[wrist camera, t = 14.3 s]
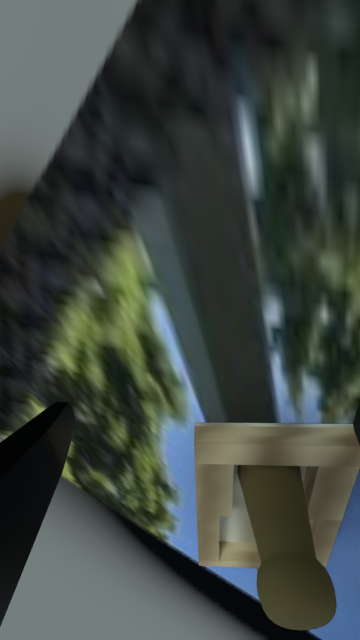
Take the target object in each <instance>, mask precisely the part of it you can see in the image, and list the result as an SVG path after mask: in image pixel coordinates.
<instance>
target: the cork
mask: <svg viewBox="0 0 360 640" xmlns="http://www.w3.org/2000/svg"><path fill="white" fill-rule="evenodd" d="M237 474H238V477H239V481H240V485H241V489H242V492H243V496H244V500H245V504H246V507H247V511H248V515H249V519H250V522H251V526H252V530H253V534H254V537H255V541H256V545H257V549H258V552H259V556H260V560H261V564H260V567H259V569H258V573H257V591H258V596H259V599H260V602H261V605H262V607H263V610H264V611H265V613H266V615H267V616H268V618H269V619H271V620H272V621H273V622H274V623H276V624H277V625H279V626H282V627H284V628H289V629H295V630H310V629H316V628H319V627H322V626H325V625H326V624H327V623H329V622H330V621H331V620H332V619H333V617H334V615H335V611H336V596H335V590H334V586H333V583H332V580H331V578H330V576H329V574H328V572H327V570H326V568H325V567H324V566H323V565H322V564H321V563H320V562H319V561H318V560H317V559H316V553H315V548H314V542H313V537H312V531H311V526H310V520H309V515H308V509H307V504H306V498H305V493H304V487H303V482H302V476H301V471H300V466H276V465H238V469H237Z"/></svg>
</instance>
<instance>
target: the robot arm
mask: <svg viewBox="0 0 360 640" xmlns="http://www.w3.org/2000/svg"><path fill="white" fill-rule="evenodd" d="M75 425H76V420H75V416H74V412H73V409H72V405H71V403H70V402H69V401H57V402H55V403H54V404H52V405H51V406H49V407H48V408H47V409H45V410H44V411H43V412H41V413H40V414H39V415H37V416H36V417H34V418H33V419H32V420H30V421H29V422H28V423H26V424H25V425H24V426H22V427H21V428H19V429H18V430H17V431H15V432H14V433H13V434H11V435H10V436H9V437H7V438H6V439H4V440H3V441H2V442H0V626H1V624H2V621H3V619H4V616H5V614H6V611H7V609H8V606H9V604H10V601H11V599H12V596H13V594H14V591H15V589H16V586H17V584H18V581H19V579H20V576H21V574H22V571H23V569H24V566H25V564H26V561H27V559H28V557H29V554H30V552H31V549H32V547H33V544H34V542H35V539H36V537H37V534H38V532H39V529H40V527H41V524H42V521H43V519H44V517H45V514H46V512H47V509H48V507H49V504H50V502H51V499H52V497H53V494H54V492H55V489H56V487H57V484H58V482H59V479H60V477H61V474H62V471H63V468H64V465H65V461H66V458H67V454H68V451H69V447H70V444H71V440H72V437H73V433H74V430H75ZM353 428H354V432H355V434H356V437H357V440H358V443H359V446H360V404H359V406H358V409H357V412H356V415H355V419H354V423H353Z"/></svg>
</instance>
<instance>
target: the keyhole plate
mask: <svg viewBox="0 0 360 640" xmlns="http://www.w3.org/2000/svg"><path fill="white" fill-rule="evenodd" d="M194 447H195V473H196V500H197V526H198V552H199V566H219V567H241V568H259V567H260V564H261V560H260V556H259V552H258V549H257V545H256V541H255V537H254V534H253V530H252V526H251V522H250V519H249V515H248V511H247V507H246V504H245V500H244V496H243V492H242V489H241V485H240V481H239V477H238V474H237V469H238V465H276V466H300V471H301V476H302V482H303V487H304V493H305V498H306V504H307V509H308V515H309V520H310V526H311V531H312V537H313V542H314V548H315V553H316V559H317V560H318V561H319V562H320V563H321V564H322V565H323V566H324V567H325V568H326V566H327V563H328V560H329V557H330V554H331V551H332V548H333V545H334V542H335V539H336V536H337V533H338V530H339V527H340V525H341V522H342V519H343V516H344V513H345V510H346V507H347V504H348V501H349V498H350V495H351V492H352V489H353V486H354V483H355V480H356V478H357V475H358V472H359V469H360V446H359V443H358V440H357V437H356V434H355V432H354V428H353V424H298V423H196V422H195V439H194Z"/></svg>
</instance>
